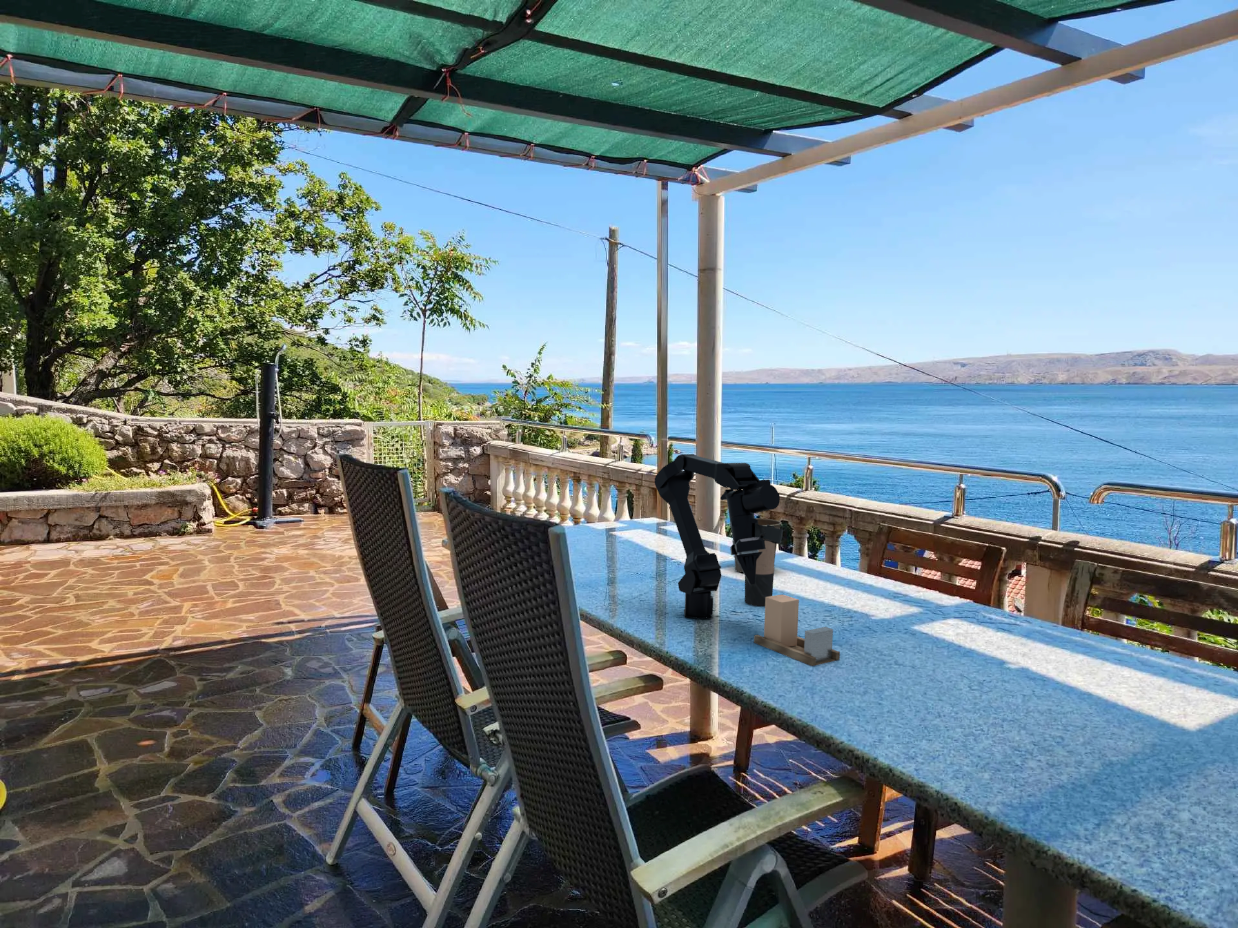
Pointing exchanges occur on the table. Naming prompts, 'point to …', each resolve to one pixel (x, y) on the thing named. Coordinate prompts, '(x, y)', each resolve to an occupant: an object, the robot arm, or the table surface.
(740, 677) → the table surface
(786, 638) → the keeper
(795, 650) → the rail
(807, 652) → the grey square block
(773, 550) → the travel mug
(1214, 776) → the table surface
